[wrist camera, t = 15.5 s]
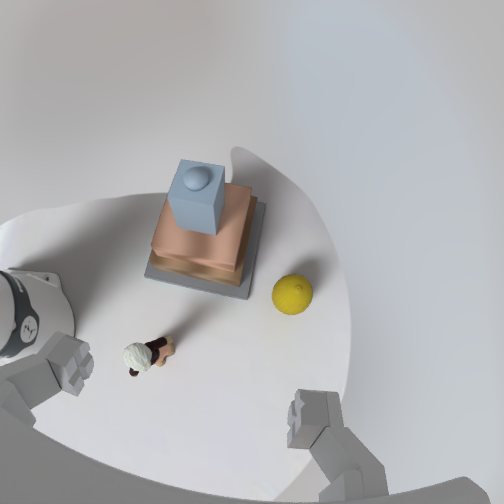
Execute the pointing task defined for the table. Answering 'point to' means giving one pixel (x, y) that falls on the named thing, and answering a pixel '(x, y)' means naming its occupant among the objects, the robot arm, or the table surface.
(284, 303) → the lemon
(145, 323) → the table surface
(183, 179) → the blue knobbed block
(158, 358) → the grandmother figurine
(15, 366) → the robot arm
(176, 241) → the terracotta brick
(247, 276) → the baseplate
